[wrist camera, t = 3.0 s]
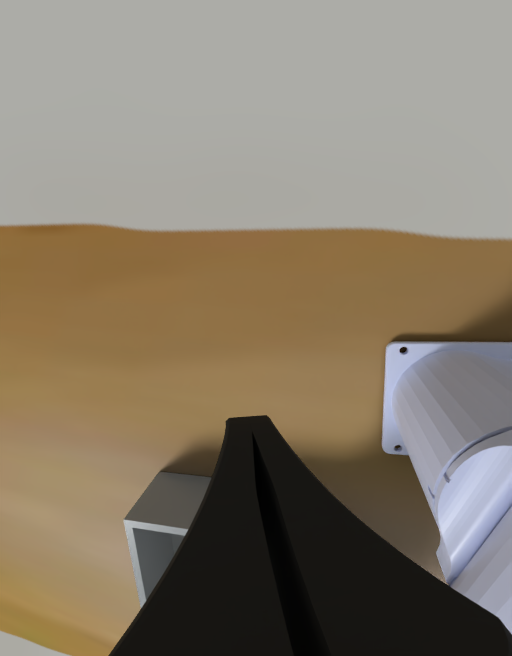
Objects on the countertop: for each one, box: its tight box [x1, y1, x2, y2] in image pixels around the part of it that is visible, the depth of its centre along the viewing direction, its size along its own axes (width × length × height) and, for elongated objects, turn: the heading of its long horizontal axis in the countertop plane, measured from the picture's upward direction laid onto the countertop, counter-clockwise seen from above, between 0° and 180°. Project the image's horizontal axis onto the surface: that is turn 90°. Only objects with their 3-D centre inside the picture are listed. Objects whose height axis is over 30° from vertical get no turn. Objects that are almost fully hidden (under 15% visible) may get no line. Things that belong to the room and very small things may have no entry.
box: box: [124, 472, 212, 608], centre depth 25 cm, size 12×14×5 cm
